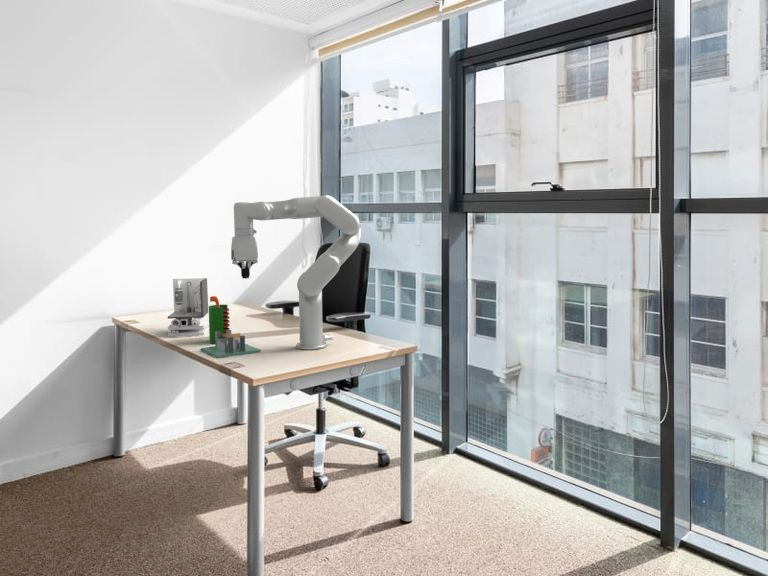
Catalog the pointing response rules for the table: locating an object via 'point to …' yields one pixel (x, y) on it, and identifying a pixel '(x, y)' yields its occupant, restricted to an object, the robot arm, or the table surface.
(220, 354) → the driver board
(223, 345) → the heat sink
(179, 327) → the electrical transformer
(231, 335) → the strap
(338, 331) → the table surface
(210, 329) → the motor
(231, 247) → the robot arm
